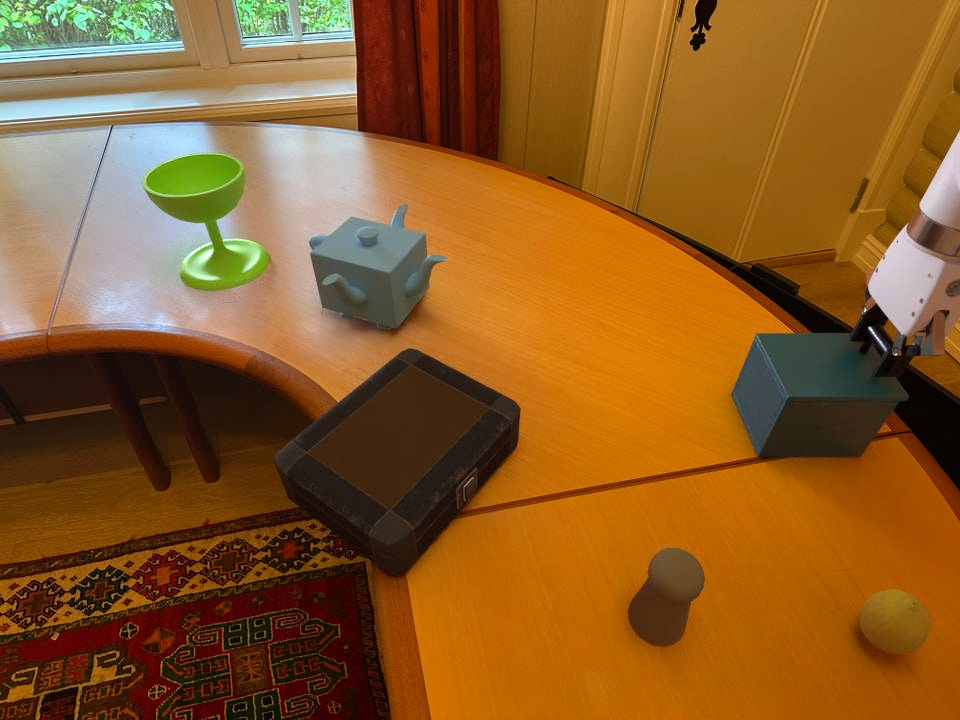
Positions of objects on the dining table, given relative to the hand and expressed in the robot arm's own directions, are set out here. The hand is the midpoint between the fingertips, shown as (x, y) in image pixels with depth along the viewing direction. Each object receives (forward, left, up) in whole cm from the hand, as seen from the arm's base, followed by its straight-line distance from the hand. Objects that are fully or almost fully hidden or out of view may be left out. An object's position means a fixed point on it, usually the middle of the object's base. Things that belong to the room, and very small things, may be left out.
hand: (873, 356), depth 75 cm
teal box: (+5, +1, -13) cm, 14 cm away
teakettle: (+70, -10, -13) cm, 72 cm away
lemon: (+1, +30, -13) cm, 33 cm away
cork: (+23, +33, -13) cm, 43 cm away
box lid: (+5, +1, -2) cm, 6 cm away
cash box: (+55, +21, -13) cm, 60 cm away
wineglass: (+103, -15, -13) cm, 105 cm away
